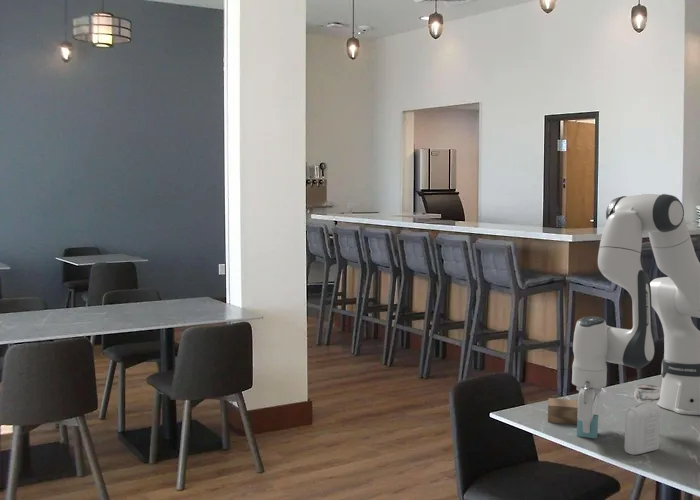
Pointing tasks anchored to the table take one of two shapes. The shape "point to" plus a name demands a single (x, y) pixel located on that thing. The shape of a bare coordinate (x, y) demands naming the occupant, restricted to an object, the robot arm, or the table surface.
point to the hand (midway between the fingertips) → (587, 428)
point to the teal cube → (593, 428)
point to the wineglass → (646, 393)
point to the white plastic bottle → (642, 428)
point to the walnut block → (562, 411)
